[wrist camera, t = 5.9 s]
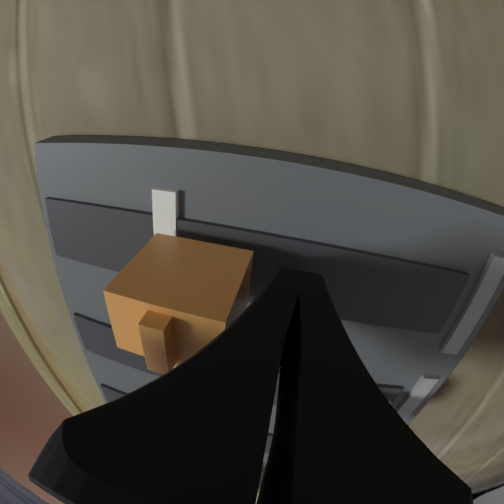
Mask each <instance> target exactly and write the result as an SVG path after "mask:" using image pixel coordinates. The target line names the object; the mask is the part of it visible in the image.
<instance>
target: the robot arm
mask: <svg viewBox="0 0 504 504" xmlns="http://www.w3.org/2000/svg"><path fill="white" fill-rule="evenodd" d="M279 368H280V374H279V385H278V396H277V407H276V417H275V425H274V431H273V437H272V441H271V446H270V450H269V455H268V459H267V464H266V468H265V472H264V476H263V480H262V484H261V488H260V492H259V496H258V500H257V504H473V499H472V492H471V488H470V487H469V486H468V485H467V484H466V483H464V482H463V481H462V480H461V479H460V478H459V477H458V476H457V475H456V474H454V473H453V472H452V471H451V470H450V469H449V468H448V467H447V466H446V465H445V464H443V463H442V462H441V461H440V460H439V459H438V458H437V457H436V456H435V455H434V454H433V453H432V452H431V451H430V450H429V449H428V448H427V446H426V445H425V444H424V443H423V442H422V441H421V440H420V439H419V438H418V437H417V436H416V435H415V433H414V432H413V431H412V430H411V429H410V428H409V426H408V425H407V424H406V423H405V421H404V420H403V419H402V418H401V416H400V415H399V414H398V413H397V411H396V410H395V409H394V408H393V406H392V405H391V404H390V403H389V401H388V400H387V398H386V397H385V396H384V394H383V393H382V391H381V390H380V389H379V387H378V386H377V384H376V383H375V381H374V380H373V378H372V376H371V375H370V373H369V372H368V370H367V369H366V367H365V365H364V364H363V362H362V360H361V358H360V357H359V355H358V353H357V351H356V349H355V348H354V346H353V344H352V342H351V340H350V338H349V336H348V334H347V332H346V330H345V328H344V326H343V324H342V322H341V320H340V318H339V316H338V313H337V311H336V309H335V307H334V304H333V302H332V299H331V297H330V294H329V292H328V289H327V286H326V283H325V280H324V278H323V277H322V275H321V274H316V273H311V272H306V271H300V270H295V269H290V268H285V267H279V268H277V269H275V271H274V273H273V275H272V277H271V278H270V280H269V281H268V283H267V284H266V286H265V287H264V288H263V289H262V291H261V292H260V293H259V294H258V296H257V297H256V298H255V299H254V300H253V301H252V303H251V304H250V305H249V306H248V307H247V308H246V309H245V310H244V311H243V312H242V313H241V314H240V315H239V316H238V317H237V318H236V319H235V320H234V321H233V322H232V323H231V324H230V325H229V326H228V327H227V328H226V329H225V330H224V331H223V332H222V333H220V334H219V335H218V336H217V337H216V338H215V339H213V340H212V341H211V342H210V343H208V344H207V345H206V346H205V347H203V348H202V349H201V350H199V351H198V352H197V353H195V354H194V355H193V356H191V357H190V358H188V359H187V360H185V361H184V362H182V363H181V364H179V365H178V366H176V367H175V368H173V369H172V370H170V371H169V372H167V373H165V374H164V375H162V376H160V377H159V378H157V379H155V380H153V381H151V382H149V383H148V384H146V385H144V386H142V387H140V388H138V389H136V390H134V391H132V392H130V393H128V394H127V395H125V396H122V397H120V398H118V399H116V400H114V401H111V402H109V403H106V404H104V405H101V406H99V407H96V408H94V409H91V410H89V411H86V412H83V413H81V414H78V415H76V416H73V417H70V418H67V419H65V420H64V421H63V422H62V423H61V425H60V426H59V427H58V429H57V430H56V431H55V432H54V433H53V434H52V436H51V437H50V438H49V440H48V442H47V443H46V445H45V446H44V448H43V450H42V452H41V453H40V455H39V457H38V458H37V460H36V462H35V463H34V465H33V467H32V469H31V471H30V472H29V474H28V476H29V479H30V481H31V482H33V483H34V484H36V485H37V486H38V487H40V488H41V489H43V490H44V491H46V492H47V493H49V494H50V495H52V496H54V497H55V498H57V499H58V500H60V501H62V502H63V503H65V504H255V502H256V497H257V492H258V487H259V481H260V476H261V470H262V465H263V459H264V454H265V448H266V442H267V437H268V431H269V426H270V420H271V414H272V408H273V402H274V397H275V391H276V385H277V379H278V373H279ZM0 504H49V503H47V502H45V501H44V500H43V499H41V498H40V497H38V496H37V495H35V494H34V493H32V492H31V491H30V490H28V489H27V488H25V487H24V486H23V485H21V484H20V483H19V482H17V481H16V480H15V479H14V478H12V477H11V476H10V475H8V474H7V473H6V472H5V471H4V470H2V469H1V468H0Z"/></svg>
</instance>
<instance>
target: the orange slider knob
mask: <svg viewBox="0 0 504 504" xmlns="http://www.w3.org/2000/svg"><path fill="white" fill-rule="evenodd" d="M253 253H254V251H251V250H245V249H240V248H235V247H229V246H224V245H219V244H213V243H208V242H203V241H197V240H192V239H187V238H181V237H176V236H171V235H165V234H160V233H156V234H155V235H154V236H153V237H152V238H151V239H150V240H149V241H148V242H147V243H146V244H145V246H144V247H143V248H142V249H141V250H140V251H139V252H138V253H137V254H136V255H135V256H134V257H133V258H132V259H131V260H130V261H129V262H128V263H127V265H126V266H125V267H124V268H123V269H122V270H121V271H120V272H119V273H118V274H117V275H116V276H115V278H114V279H113V280H112V281H111V282H110V283H109V284H108V285H107V286H106V288H105V289H104V290H103V293H104V297H105V301H106V306H107V310H108V314H109V318H110V322H111V326H112V330H113V333H114V337H115V340H116V344H117V347H118V348H121V349H124V350H126V351H129V352H132V353H135V354H138V355H141V356H144V357H145V361H146V365H147V369H148V370H151V371H154V372H157V373H160V374H163V375H164V374H165V373H167V372H169V371H170V370H172V369H173V368H174V367H175V366H178V365H179V364H181V363H182V362H184V361H185V360H187V359H188V358H190V357H191V356H193V355H194V354H195V353H197V352H198V351H199V350H201V349H202V348H203V347H205V346H206V345H207V344H208V343H210V342H211V341H212V340H213V339H215V338H216V337H217V336H218V335H219V334H220V333H222V332H223V331H224V330H225V329H226V328H227V327H228V326H229V325H230V324H231V323H232V322H233V321H234V320H235V319H236V318H237V317H238V316H239V315H240V314H241V313H242V312H243V311H244V310H245V309H246V308H247V304H248V295H249V287H250V278H251V270H252V261H253Z"/></svg>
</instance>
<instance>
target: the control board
mask: <svg viewBox="0 0 504 504" xmlns="http://www.w3.org/2000/svg"><path fill="white" fill-rule="evenodd" d="M34 148H35V158H36V167H37V175H38V183H39V190H40V196H41V202H42V208H43V214H44V219H45V224H46V229H47V234H48V238H49V243H50V247H51V251H52V255H53V259H54V263H55V267H56V271H57V274H58V278H59V282H60V285H61V288H62V292H63V295H64V298H65V301H66V305H67V308H68V311H69V314H70V317H71V320H72V323H73V325H74V328H75V331H76V334H77V336H78V339H79V342H80V344H81V347H82V349H83V352H84V355H85V357H86V359H87V362H88V364H89V367H90V369H91V371H92V374H93V376H94V378H95V380H96V383H97V385H98V387H99V389H100V391H101V394H102V396H103V398H104V400H105V402H106V403H109V402H111V401H114V400H116V399H118V398H120V397H122V396H125V395H127V394H128V393H130V392H132V391H134V390H136V389H138V388H140V387H142V386H144V385H146V384H148V383H149V382H151V381H153V380H155V379H157V378H159V377H160V376H162V375H163V374H160V373H157V372H154V371H151V370H148V369H147V365H146V361H145V357H144V356H141V355H138V354H135V353H132V352H129V351H126V350H124V349H121V348H118V347H117V344H116V340H115V337H114V333H113V330H112V326H111V322H110V318H109V314H108V310H107V306H106V301H105V297H104V293H103V290H104V289H105V288H106V286H107V285H108V284H109V283H110V282H111V281H112V280H113V279H114V278H115V276H116V275H117V274H118V273H119V272H120V271H121V270H122V269H123V268H124V267H125V266H126V265H127V263H128V262H129V261H130V260H131V259H132V258H133V257H134V256H135V255H136V254H137V253H138V252H139V251H140V250H141V249H142V248H143V247H144V246H145V244H146V243H147V242H148V241H149V240H150V239H151V238H152V237H153V236H154V235H155V234H156V233H160V234H165V235H171V236H176V237H181V238H187V239H192V240H197V241H203V242H208V243H213V244H219V245H224V246H229V247H235V248H240V249H245V250H251V251H254V253H253V261H252V270H251V278H250V287H249V295H248V304H247V307H248V306H249V305H250V304H251V303H252V301H253V300H254V299H255V298H256V297H257V296H258V294H259V293H260V292H261V291H262V289H263V288H264V287H265V286H266V284H267V283H268V281H269V280H270V278H271V277H272V275H273V273H274V271H275V269H277V268H279V267H285V268H290V269H295V270H300V271H306V272H311V273H316V274H321V275H322V277H323V278H324V280H325V283H326V286H327V289H328V292H329V294H330V297H331V299H332V302H333V304H334V307H335V309H336V311H337V313H338V316H339V318H340V320H341V322H342V324H343V326H344V328H345V330H346V332H347V334H348V336H349V338H350V340H351V342H352V344H353V346H354V348H355V349H356V351H357V353H358V355H359V357H360V358H361V360H362V362H363V364H364V365H365V367H366V369H367V370H368V372H369V373H370V375H371V376H372V378H373V380H374V381H375V383H376V384H377V386H378V387H379V389H380V390H381V391H382V393H383V394H384V396H385V397H386V398H387V400H388V401H390V402H391V405H392V406H393V408H394V409H395V410H396V411H397V413H398V414H399V415H400V416H401V418H402V419H403V420H404V421H405V423H406V424H407V425H408V424H409V423H410V421H411V420H412V419H413V418H414V417H415V416H416V415H417V414H418V413H419V411H420V410H421V409H422V408H423V407H424V406H425V404H426V403H427V402H428V401H429V400H430V399H431V397H432V396H433V395H434V394H435V392H436V391H437V390H438V389H439V387H440V386H441V385H442V384H443V382H444V381H445V380H446V378H447V377H448V376H449V374H450V373H451V372H452V370H453V369H454V368H455V366H456V365H457V364H458V362H459V361H460V359H461V358H462V357H463V355H464V354H465V352H466V351H467V349H468V348H469V346H470V345H471V343H472V342H473V340H474V339H475V337H476V336H477V334H478V333H479V331H480V329H481V328H482V326H483V324H484V323H485V321H486V320H487V318H488V316H489V314H490V313H491V311H492V309H493V308H494V306H495V304H496V302H497V300H498V299H499V297H500V295H501V293H502V291H503V289H504V208H503V207H500V206H498V205H495V204H492V203H489V202H486V201H483V200H480V199H477V198H474V197H471V196H468V195H465V194H462V193H459V192H456V191H452V190H449V189H446V188H443V187H439V186H436V185H432V184H429V183H425V182H422V181H418V180H414V179H411V178H407V177H403V176H399V175H395V174H391V173H387V172H383V171H379V170H375V169H370V168H366V167H362V166H357V165H352V164H348V163H343V162H338V161H333V160H328V159H323V158H317V157H312V156H306V155H301V154H295V153H289V152H283V151H276V150H270V149H263V148H256V147H248V146H241V145H232V144H224V143H215V142H205V141H194V140H183V139H169V138H154V137H133V136H53V137H50V138H47V139H44V140H42V141H39V142H36V143H34ZM175 367H176V366H175ZM175 367H174V368H175ZM279 374H280V368H279V373H278V379H277V385H276V391H275V397H274V402H273V408H272V414H271V420H270V426H269V431H268V437H267V442H266V448H265V454H264V459H263V462H267V459H268V455H269V450H270V446H271V441H272V437H273V431H274V425H275V417H276V407H277V396H278V385H279Z"/></svg>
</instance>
